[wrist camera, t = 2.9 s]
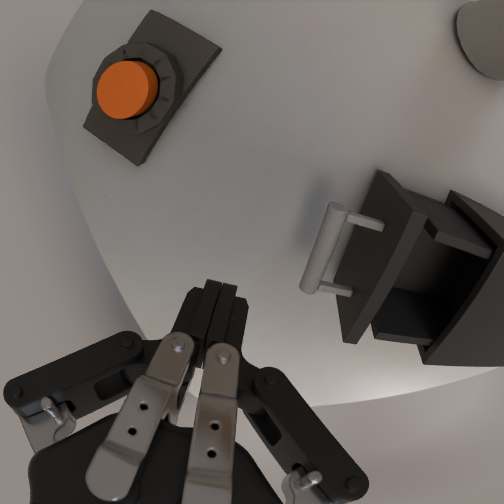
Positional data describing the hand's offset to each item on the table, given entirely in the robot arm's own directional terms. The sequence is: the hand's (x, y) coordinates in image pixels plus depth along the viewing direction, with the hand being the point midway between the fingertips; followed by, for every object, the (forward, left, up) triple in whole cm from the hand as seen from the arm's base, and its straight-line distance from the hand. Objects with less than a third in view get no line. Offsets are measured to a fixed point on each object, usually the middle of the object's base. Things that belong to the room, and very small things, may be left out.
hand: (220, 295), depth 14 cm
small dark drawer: (+6, -13, -12) cm, 18 cm away
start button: (+3, +13, -10) cm, 17 cm away
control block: (+3, +13, -13) cm, 18 cm away
